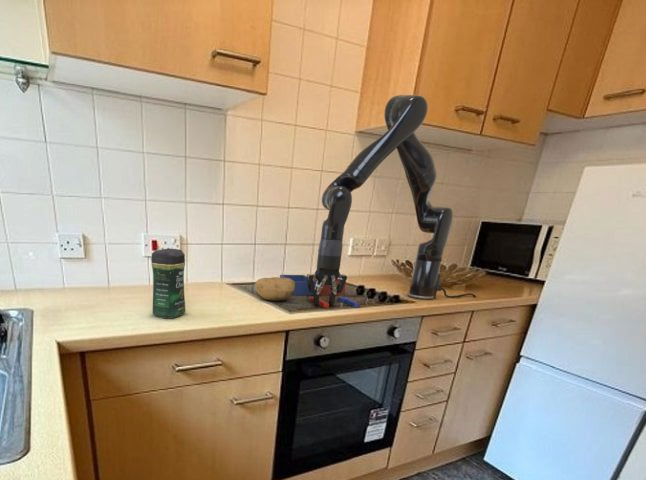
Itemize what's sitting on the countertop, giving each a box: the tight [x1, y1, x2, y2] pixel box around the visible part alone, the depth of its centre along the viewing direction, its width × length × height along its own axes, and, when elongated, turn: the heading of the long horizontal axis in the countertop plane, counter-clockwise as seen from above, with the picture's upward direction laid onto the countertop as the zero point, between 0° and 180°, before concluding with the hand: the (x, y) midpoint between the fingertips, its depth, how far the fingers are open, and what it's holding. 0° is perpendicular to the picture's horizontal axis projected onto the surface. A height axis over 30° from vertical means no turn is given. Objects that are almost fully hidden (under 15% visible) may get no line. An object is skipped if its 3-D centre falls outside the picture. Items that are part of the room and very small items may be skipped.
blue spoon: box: [337, 296, 360, 308], centre depth 143 cm, size 12×4×1 cm, turn 14°
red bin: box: [315, 277, 347, 296], centre depth 161 cm, size 10×15×5 cm
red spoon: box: [309, 296, 330, 309], centre depth 140 cm, size 12×4×1 cm, turn 14°
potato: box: [254, 276, 296, 302], centre depth 140 cm, size 10×14×8 cm
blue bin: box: [279, 274, 317, 296], centre depth 159 cm, size 10×15×5 cm
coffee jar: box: [150, 248, 186, 319], centre depth 114 cm, size 10×8×19 cm
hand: (323, 305), depth 138 cm, fingers open, 4 cm apart
